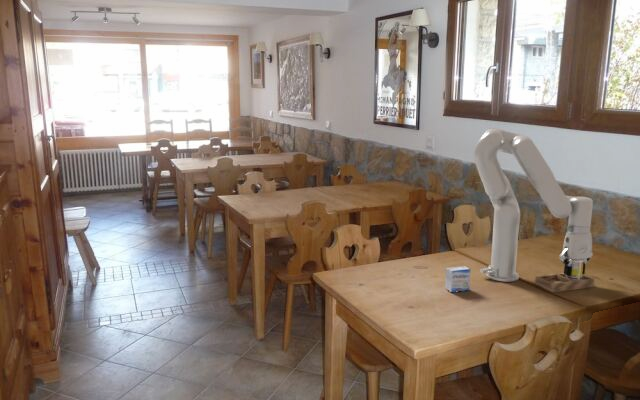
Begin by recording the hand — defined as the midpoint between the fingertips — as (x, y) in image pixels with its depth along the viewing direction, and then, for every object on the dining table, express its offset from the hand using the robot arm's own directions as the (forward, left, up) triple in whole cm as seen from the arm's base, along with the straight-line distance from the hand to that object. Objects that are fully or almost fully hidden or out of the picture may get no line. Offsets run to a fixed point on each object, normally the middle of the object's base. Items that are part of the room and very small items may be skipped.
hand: (574, 273), depth 199 cm
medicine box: (-46, +8, -4) cm, 47 cm away
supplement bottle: (0, 0, -2) cm, 2 cm away
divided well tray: (-4, 0, -4) cm, 6 cm away
